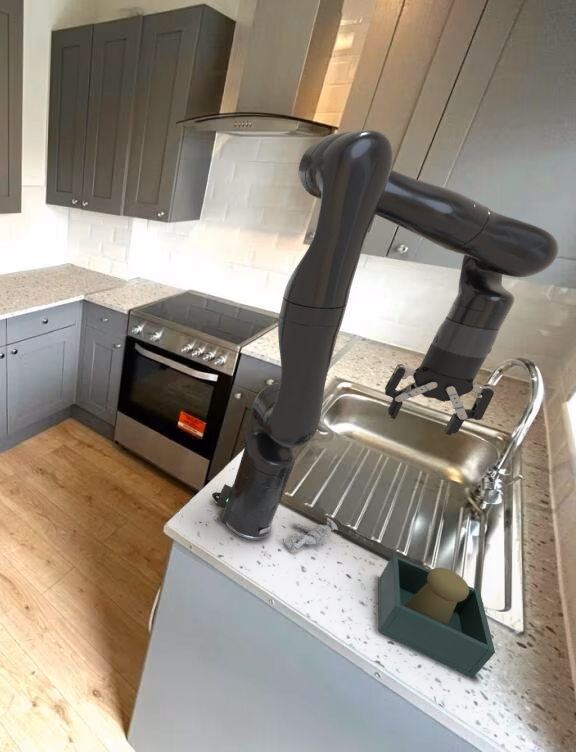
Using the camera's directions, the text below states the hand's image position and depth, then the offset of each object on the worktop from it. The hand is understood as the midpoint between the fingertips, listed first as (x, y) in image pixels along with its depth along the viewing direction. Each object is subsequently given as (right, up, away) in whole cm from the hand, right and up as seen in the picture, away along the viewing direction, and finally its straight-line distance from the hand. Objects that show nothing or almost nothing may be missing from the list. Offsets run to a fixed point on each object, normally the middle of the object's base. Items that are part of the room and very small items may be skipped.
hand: (419, 424), depth 81 cm
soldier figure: (-16, -26, +9) cm, 32 cm away
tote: (-5, -34, -6) cm, 35 cm away
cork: (-5, -33, -6) cm, 34 cm away
